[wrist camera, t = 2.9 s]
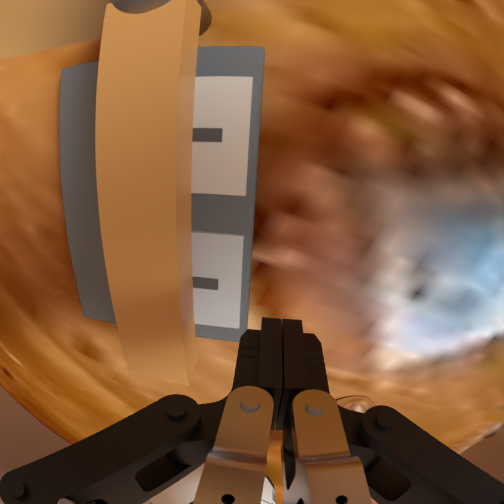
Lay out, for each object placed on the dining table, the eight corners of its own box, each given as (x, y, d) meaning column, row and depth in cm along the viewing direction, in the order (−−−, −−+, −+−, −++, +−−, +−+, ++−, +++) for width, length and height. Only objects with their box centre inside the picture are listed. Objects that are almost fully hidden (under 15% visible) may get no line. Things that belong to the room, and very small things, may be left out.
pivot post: (213, 0, 14) (198, -25, 11) (209, 38, 15) (193, 19, 12) (169, 4, 14) (147, -17, 11) (165, 42, 16) (140, 26, 12)
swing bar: (137, -25, 10) (117, -42, 8) (207, -36, 10) (195, -58, 8) (142, 350, 20) (129, 374, 17) (196, 359, 19) (188, 386, 17)
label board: (264, 52, 16) (263, 45, 14) (247, 330, 24) (244, 346, 22) (73, 71, 16) (58, 68, 15) (92, 307, 24) (82, 319, 23)
